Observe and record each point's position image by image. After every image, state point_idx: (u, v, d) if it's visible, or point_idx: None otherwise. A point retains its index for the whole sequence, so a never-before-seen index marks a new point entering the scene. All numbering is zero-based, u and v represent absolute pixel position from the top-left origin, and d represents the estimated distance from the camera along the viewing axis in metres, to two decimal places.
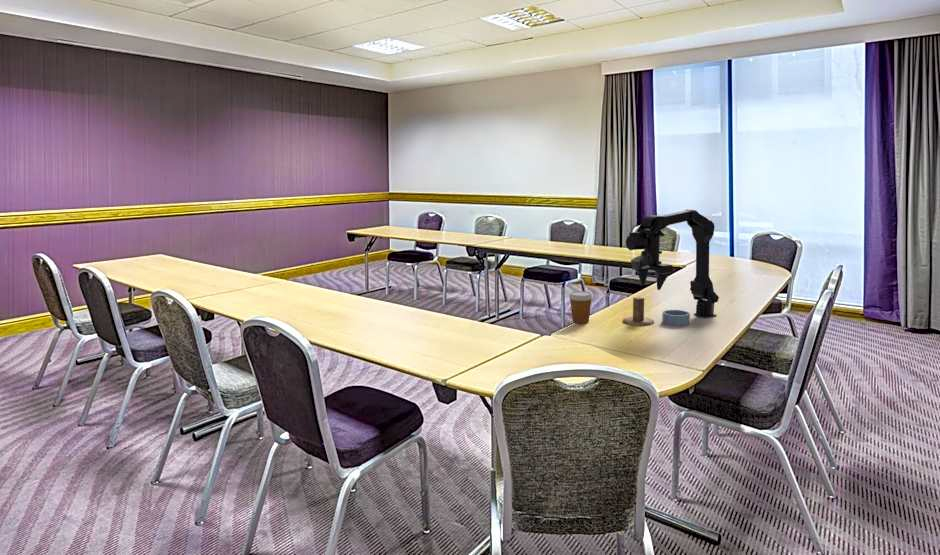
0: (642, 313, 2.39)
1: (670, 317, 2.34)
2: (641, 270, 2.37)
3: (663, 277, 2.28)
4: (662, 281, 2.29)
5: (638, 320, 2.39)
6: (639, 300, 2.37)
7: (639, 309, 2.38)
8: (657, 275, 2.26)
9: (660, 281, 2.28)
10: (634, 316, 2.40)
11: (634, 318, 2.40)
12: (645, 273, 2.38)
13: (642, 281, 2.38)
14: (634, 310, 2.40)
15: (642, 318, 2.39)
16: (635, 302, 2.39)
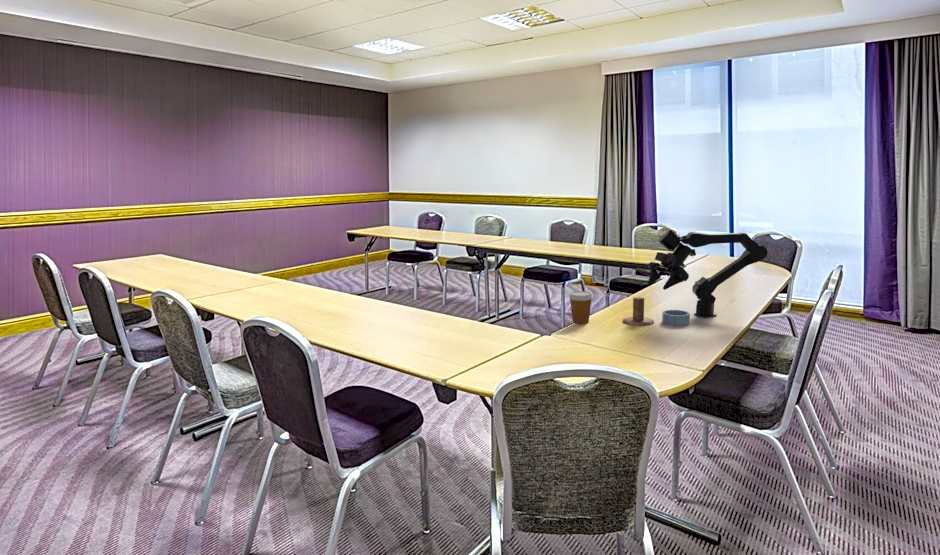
0: (642, 313, 2.39)
1: (670, 317, 2.34)
2: (655, 272, 2.46)
3: (674, 281, 2.37)
4: (671, 284, 2.37)
5: (638, 320, 2.39)
6: (639, 300, 2.37)
7: (639, 309, 2.38)
8: (672, 274, 2.35)
9: (670, 282, 2.36)
10: (634, 316, 2.40)
11: (634, 318, 2.40)
12: (656, 277, 2.47)
13: (650, 281, 2.45)
14: (634, 310, 2.40)
15: (642, 318, 2.39)
16: (635, 302, 2.39)
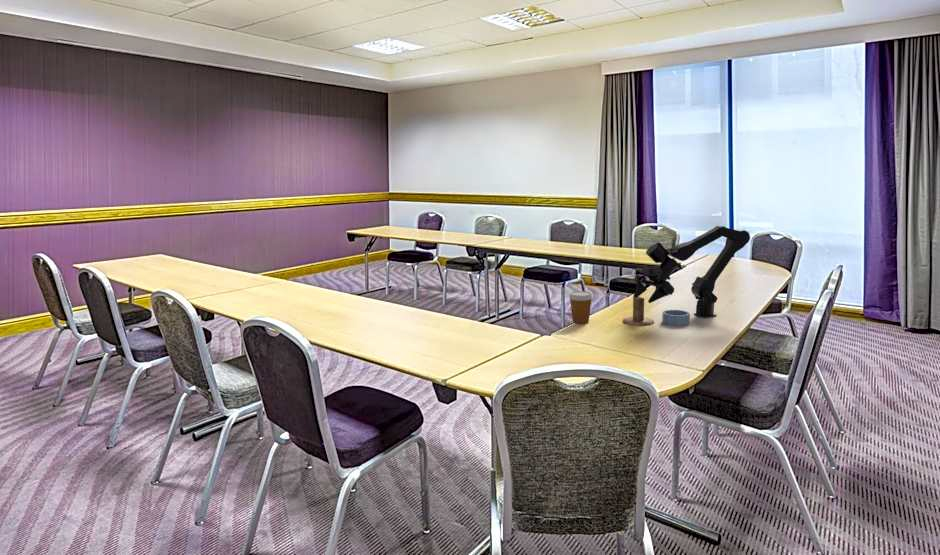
0: (642, 313, 2.39)
1: (670, 317, 2.34)
2: (641, 285, 2.45)
3: (659, 295, 2.35)
4: (656, 297, 2.35)
5: (638, 320, 2.39)
6: (639, 300, 2.37)
7: (639, 309, 2.38)
8: (658, 287, 2.34)
9: (655, 295, 2.35)
10: (634, 316, 2.40)
11: (634, 318, 2.40)
12: (642, 290, 2.45)
13: (636, 293, 2.44)
14: (634, 310, 2.40)
15: (642, 318, 2.39)
16: (635, 302, 2.39)
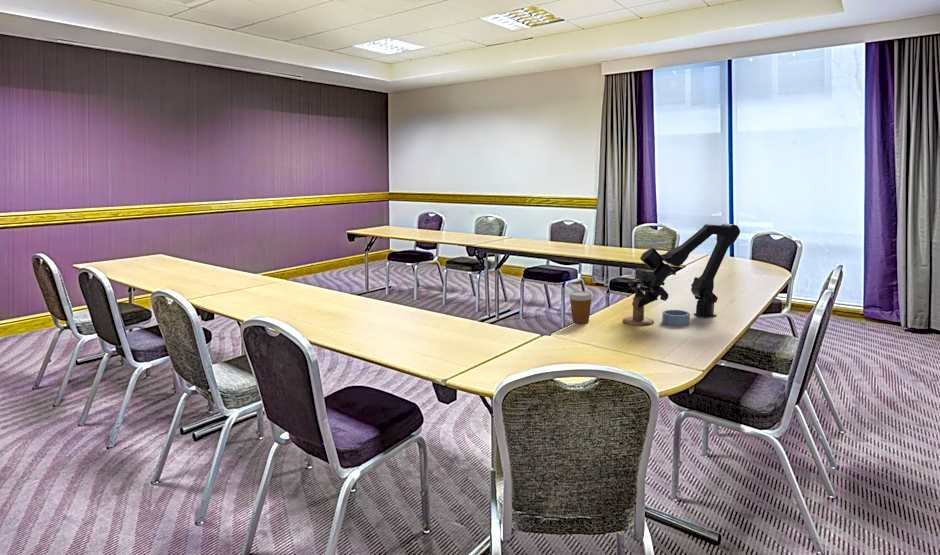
0: (642, 313, 2.39)
1: (670, 317, 2.34)
2: (640, 292, 2.41)
3: (649, 299, 2.37)
4: (646, 302, 2.37)
5: (638, 320, 2.39)
6: (639, 300, 2.37)
7: (639, 308, 2.38)
8: (647, 292, 2.35)
9: (645, 300, 2.37)
10: (634, 316, 2.40)
11: (634, 318, 2.40)
12: None
13: None
14: (634, 310, 2.40)
15: (642, 318, 2.39)
16: (635, 301, 2.38)
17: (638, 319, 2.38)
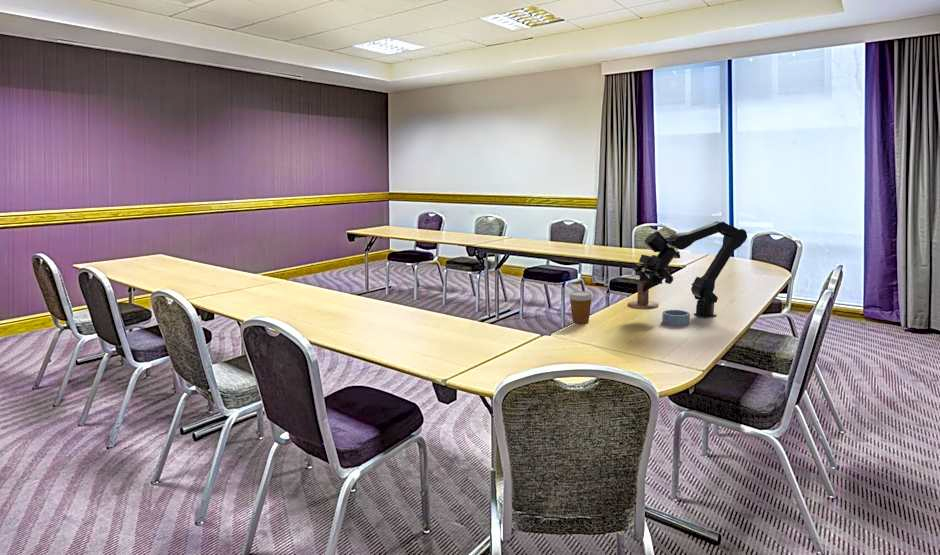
0: (647, 296, 2.37)
1: (670, 317, 2.34)
2: (644, 276, 2.40)
3: (653, 283, 2.36)
4: (650, 285, 2.36)
5: (643, 304, 2.37)
6: (643, 283, 2.36)
7: (644, 292, 2.36)
8: (651, 276, 2.34)
9: (649, 284, 2.35)
10: (639, 300, 2.39)
11: (639, 302, 2.39)
12: None
13: None
14: (639, 294, 2.38)
15: (647, 302, 2.38)
16: (639, 285, 2.37)
17: (643, 303, 2.37)
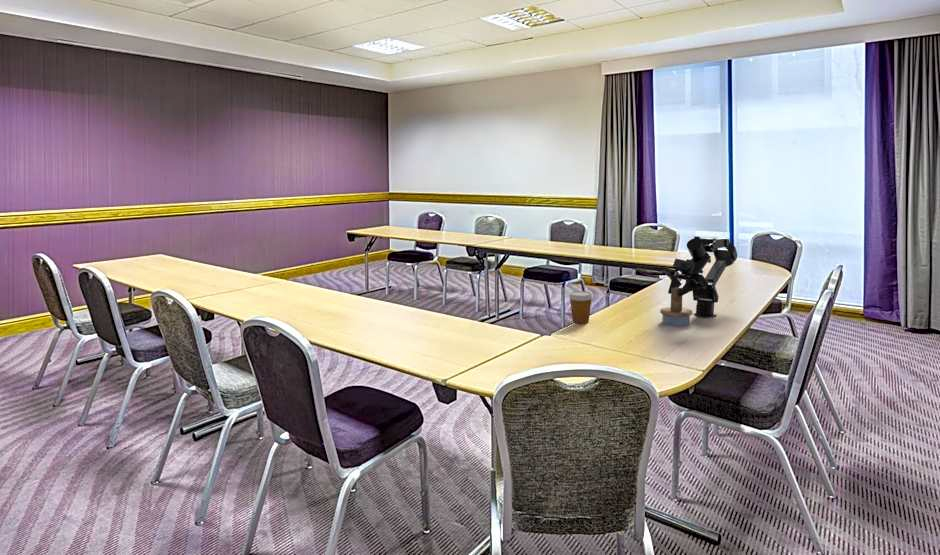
0: (680, 303, 2.35)
1: (670, 317, 2.34)
2: (676, 280, 2.39)
3: (690, 288, 2.32)
4: (687, 290, 2.32)
5: (676, 310, 2.35)
6: (677, 290, 2.34)
7: (678, 299, 2.34)
8: (688, 281, 2.31)
9: (686, 289, 2.32)
10: (672, 306, 2.37)
11: (672, 308, 2.37)
12: (677, 285, 2.39)
13: None
14: (672, 300, 2.36)
15: (680, 308, 2.36)
16: (673, 292, 2.35)
17: (676, 310, 2.35)
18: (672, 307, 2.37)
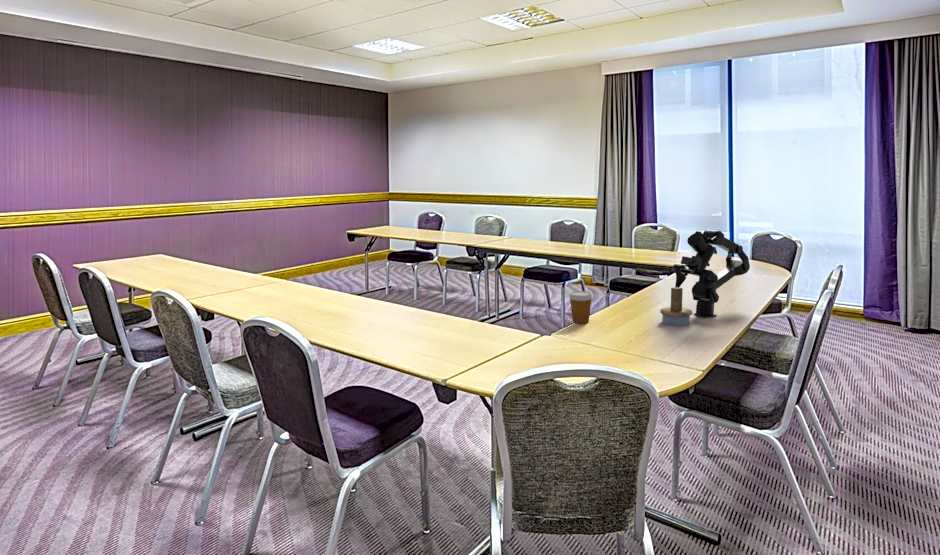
0: (680, 303, 2.35)
1: (670, 317, 2.34)
2: (681, 275, 2.44)
3: (703, 284, 2.36)
4: (701, 287, 2.36)
5: (676, 310, 2.35)
6: (677, 290, 2.34)
7: (678, 299, 2.34)
8: (702, 278, 2.34)
9: (700, 286, 2.35)
10: (672, 306, 2.37)
11: (672, 308, 2.37)
12: (682, 280, 2.45)
13: (677, 284, 2.44)
14: (672, 300, 2.36)
15: (680, 308, 2.36)
16: (673, 292, 2.35)
17: (676, 310, 2.35)
18: (672, 307, 2.37)
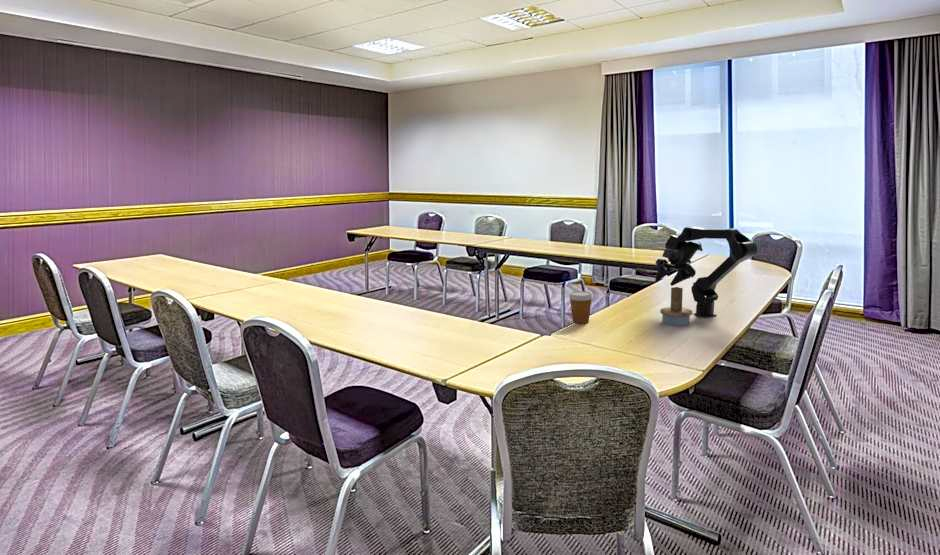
0: (680, 303, 2.35)
1: (670, 317, 2.34)
2: (663, 269, 2.53)
3: (681, 277, 2.43)
4: (678, 280, 2.43)
5: (676, 310, 2.35)
6: (677, 290, 2.34)
7: (678, 299, 2.34)
8: (680, 270, 2.42)
9: (677, 278, 2.43)
10: (672, 306, 2.37)
11: (672, 308, 2.37)
12: (663, 274, 2.53)
13: (658, 277, 2.52)
14: (672, 300, 2.36)
15: (680, 308, 2.36)
16: (673, 292, 2.35)
17: (676, 310, 2.35)
18: (672, 307, 2.37)
